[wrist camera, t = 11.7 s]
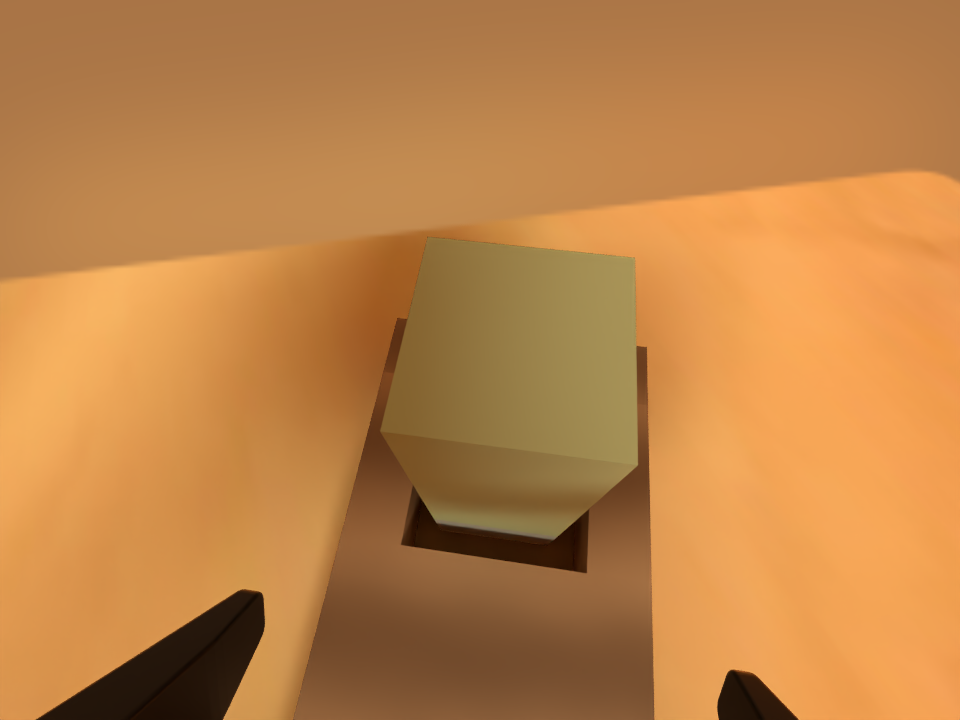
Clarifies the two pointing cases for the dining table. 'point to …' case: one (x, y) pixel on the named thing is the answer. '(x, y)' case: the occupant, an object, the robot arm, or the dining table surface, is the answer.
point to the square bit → (515, 386)
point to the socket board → (482, 609)
